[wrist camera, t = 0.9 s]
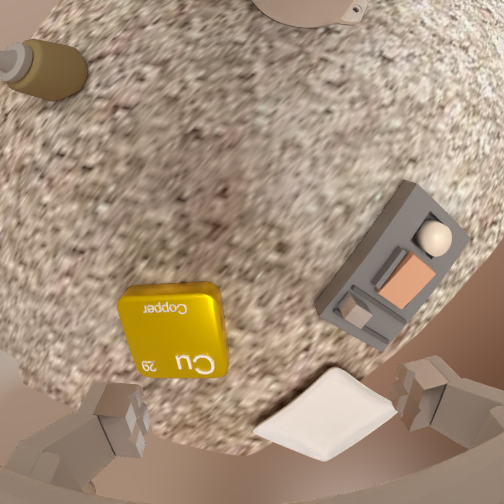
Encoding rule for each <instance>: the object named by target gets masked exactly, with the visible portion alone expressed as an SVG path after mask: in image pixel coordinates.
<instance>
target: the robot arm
mask: <svg viewBox="0 0 504 504" xmlns="http://www.w3.org/2000/svg"><path fill="white" fill-rule="evenodd" d="M252 1H253V3H254V4H255V5H256V6H257V8H259V9H260V10H261V11H262V12H263V13H264V14H266V15H267V16H269V17H270V18H272V19H274V20H276V21H278V22H281V23H283V24H287V25H290V26H295V27H303V28H314V27H321V26H325V25H329V24H334V23H340V24H347V25H356V24H358V23H359V22H360V21H361V19H362V17H363V14H364V12H365V9H366V7H367V4H368V2H369V0H252ZM353 9H356V10H357V12H355V11H353ZM395 376H396V377H397V380H396V381H395V382H394V384H393V385H392V388H391V392H390V393H391V394H390V395H391V402H392V405H393V407H394V409H395V410H396V411H398V412H400V413H402V417H401V420H402V421H403V423H404V424H405V426H406V427H407V429H408V431H413V430H417V429H420V428H424V427H427V426H430V427H432V428H433V429H435V430H437V431H438V432H440V433H442V434H444V435H445V436H447V437H449V438H450V439H452V440H454V441H456V442H457V443H459V444H461V445H463V446H464V447H466V448H468V449H469V450H468V451H466V452H464V453H462V454H460V455H458V456H455V457H453V458H451V459H449V460H446V461H444V462H441V463H439V464H436V465H434V466H431V467H429V468H426V469H424V470H421V471H418V472H415V473H413V474H410V475H407V476H404V477H401V478H398V479H395V480H392V481H388V482H385V483H382V484H378V485H375V486H371V487H367V488H363V489H360V490H355V491H351V492H347V493H342V494H338V495H333V496H328V497H322V498H316V499H310V500H304V501H297V502H290V503H281V504H504V391H502V390H499V389H496V388H493V387H490V386H487V385H484V384H481V383H478V382H474V381H472V380H469V379H466V378H464V379H461V378H460V377H459V376H458V375H457V374H456V373H455V372H454V371H453V370H452V369H451V368H450V367H449V366H448V365H447V364H446V363H445V362H444V361H443V360H442V359H441V358H440V357H439V356H431V357H428V358H424V359H421V360H417V361H413V362H408V363H404V364H399V365H398V367H397V369H396V373H395ZM143 396H144V394H143V391H142V388H141V386H140V385H138V384H125V383H114V382H110V383H109V382H101V381H95V382H93V383H92V385H91V387H90V389H89V391H88V392H87V394H86V396H85V398H84V400H83V402H82V404H81V405H80V407H79V409H78V411H77V412H72V413H70V414H69V415H67V416H65V417H63V418H61V419H60V420H58V421H56V422H54V423H53V424H51V425H49V426H47V427H45V428H44V429H42V430H40V431H38V432H37V433H35V434H33V435H31V436H29V437H27V438H26V439H24V440H22V441H20V442H19V443H18V445H17V446H16V448H15V450H14V451H13V453H12V455H11V457H10V458H9V460H8V462H7V464H6V465H5V467H4V468H3V467H1V466H0V504H147V503H138V502H130V501H124V500H117V499H111V498H106V497H101V496H96V495H92V494H87V493H84V492H83V490H82V488H83V487H84V486H85V485H86V484H87V483H88V482H90V481H91V480H92V479H93V478H94V477H95V476H96V475H97V474H98V473H99V472H100V471H101V470H102V469H103V468H104V467H106V466H107V465H108V464H109V463H110V462H111V461H112V460H113V459H114V458H115V456H120V457H131V458H141V457H142V453H143V449H144V445H145V442H144V439H143V436H144V435H145V434H147V433H148V428H149V413H148V408H147V405H146V404H145V403H144V402H142V399H143Z"/></svg>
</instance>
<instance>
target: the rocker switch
mask: <svg viewBox="0 0 504 504" xmlns="http://www.w3.org/2000/svg"><path fill="white" fill-rule="evenodd" d="M435 275H436V273H435V272H434V270H433V269H432V268H431V267H430V266H428V265H427V264H426V263H425V262H424V261H423V260H422V259H420V258H419V257H418V256H417V255H416V254H414V253H413V252H412V251H410V252H409V253H408V254H407V255H406V256H405V258H404V259H403V260H402V261H401V262H400V263H399V264H398V265H397V267H396V268H395V269H394V271H393V272H392V273H391V274H390V276H389V277H388V278H387V280H386V281H385V282H384V284H383V285H382V286H381V287H380V289H378V288H376V289H377V292H378V294H380V295H381V296H383V297H384V298H386V299H387V300H388V301H390V302H391V303H393V304H394V305H396V306H397V307H399V308H400V309H401V310H402V309H403V308H404V307H405V306H406V305H407V304H408V303H409V302H410V301H411V300H412V299H413V298H414V297H415V296H416V295H417V294H418V293H419V292H420V291H421V290H422V288H423V287H424V286H425V285H426V284H427V283H428V282H429V281H430V280H431V279H432V278H433V277H434V276H435Z"/></svg>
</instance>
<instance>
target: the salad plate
mask: <svg viewBox="0 0 504 504" xmlns="http://www.w3.org/2000/svg"><path fill="white" fill-rule="evenodd" d="M397 412H398V411H396V410H395V409H394V407H393V405H392V402H391V401H390V400H388V399H386V398H385V397H383V396H381V395H379V394H378V393H376V392H375V391H373V390H371V389H370V388H368V387H367V386H365V385H364V384H362V383H361V382H359V381H358V380H357V379H355V378H354V377H353V376H351V375H350V374H349V373H347V372H346V371H344V370H343V369H341V368H339V367H331V368H329V369H328V370H327V371H326V372H324V373H323V374H322V375H321V376H320V377H319V378H318V379H317V380H316V381H315V382H314V383H313V384H312V385H310V386H309V387H308V388H307V389H306V390H305V391H304V392H302V393H301V394H300V395H299V396H297V397H296V398H295V399H294V400H292V401H291V402H290V403H289V404H287V405H286V406H285V407H283V408H282V409H280V410H279V411H278V412H276V413H275V414H273V415H272V416H270V417H269V418H267V419H266V420H264V421H263V422H261V423H260V424H258V425H257V426H256V427H255V428H254V429H253V431H252V432H253V433H254V434H256V435H258V436H261V437H263V438H265V439H267V440H270V441H272V442H274V443H277V444H279V445H282V446H284V447H287V448H289V449H292V450H294V451H297V452H299V453H302V454H304V455H307V456H309V457H312V458H314V459H317V460H320V461H328V460H329V459H331V458H333V457H335V456H337V455H338V454H339V453H341V452H343V451H345V450H346V449H348V448H349V447H351V446H352V445H354V444H355V443H357V442H358V441H360V440H361V439H363V438H364V437H365V436H367V435H368V434H370V433H371V432H373V431H374V430H375V429H377V428H378V427H379V426H381V425H382V424H383V423H385V422H386V421H387V420H389V419H390V418H391V417H393V416H394V415H395V414H396V413H397Z"/></svg>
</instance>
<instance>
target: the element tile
mask: <svg viewBox="0 0 504 504" xmlns="http://www.w3.org/2000/svg"><path fill="white" fill-rule="evenodd" d="M117 309H118V313H119V316H120V320H121V323H122V326H123V330H124V333H125V336H126V339H127V342H128V345H129V348H130V351H131V354H132V357H133V360H134V363H135V366H136V368H137V370H138V371H139V372H140V373H141V374H142V375H144V376H146V377H150V378H219V377H222V376H224V375H225V374H226V373H227V371H228V366H229V356H230V352H229V345H228V339H227V332H226V325H225V318H224V311H223V304H222V297H221V292H220V290H219V288H218V286H216V285H215V284H214V283H211V282H206V281H201V282H185V283H168V284H150V285H134V286H131V287H129V288H128V289H127V290H126V292H125V293H124V294H123V295H122V297H121V298H120V299H119V301H118V304H117Z"/></svg>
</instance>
